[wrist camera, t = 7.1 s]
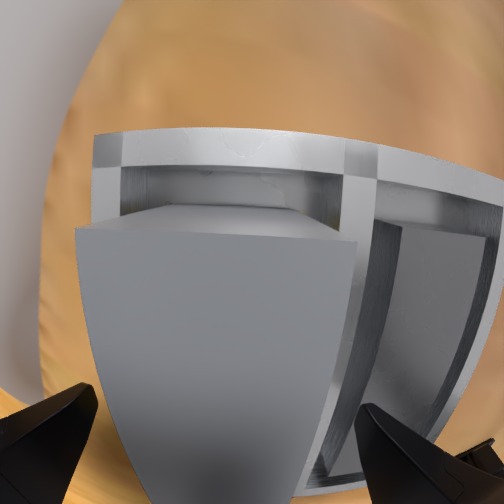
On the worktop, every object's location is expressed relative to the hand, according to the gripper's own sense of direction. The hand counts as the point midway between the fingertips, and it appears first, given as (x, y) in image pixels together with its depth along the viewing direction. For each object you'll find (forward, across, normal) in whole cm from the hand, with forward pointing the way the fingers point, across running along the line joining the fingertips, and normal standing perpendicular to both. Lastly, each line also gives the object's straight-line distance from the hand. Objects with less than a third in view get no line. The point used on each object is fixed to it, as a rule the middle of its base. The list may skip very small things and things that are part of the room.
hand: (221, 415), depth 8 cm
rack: (+4, -4, 0) cm, 5 cm away
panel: (+3, 0, 0) cm, 3 cm away
